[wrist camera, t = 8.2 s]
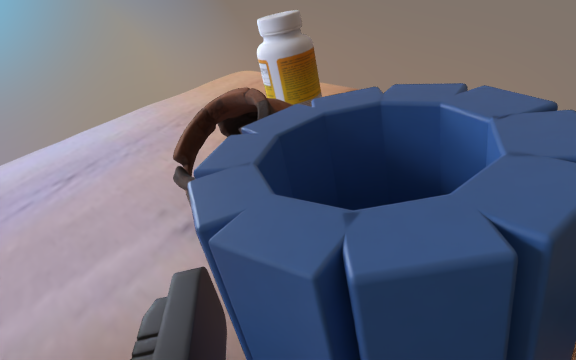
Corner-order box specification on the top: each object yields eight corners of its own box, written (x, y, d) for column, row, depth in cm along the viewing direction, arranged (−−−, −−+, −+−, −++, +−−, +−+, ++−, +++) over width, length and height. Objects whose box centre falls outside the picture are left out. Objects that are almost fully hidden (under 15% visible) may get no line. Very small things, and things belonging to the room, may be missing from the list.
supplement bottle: (332, 105, 39) (317, 4, 34) (310, 126, 35) (289, 15, 30) (288, 106, 42) (268, 13, 37) (262, 125, 38) (237, 24, 33)
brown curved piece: (375, 201, 23) (309, 119, 17) (257, 288, 24) (162, 238, 19) (303, 108, 32) (244, 33, 26) (220, 176, 33) (146, 119, 27)
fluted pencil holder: (504, 704, 7) (624, 387, 2) (258, 496, 11) (109, 206, 6) (542, 414, 11) (615, 79, 6) (353, 335, 15) (309, 84, 10)
